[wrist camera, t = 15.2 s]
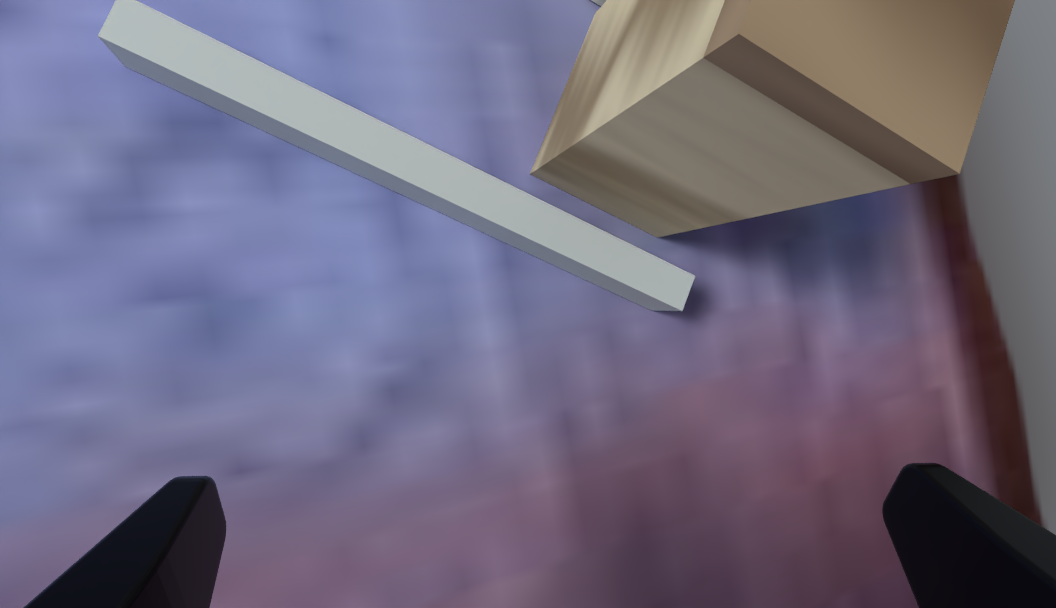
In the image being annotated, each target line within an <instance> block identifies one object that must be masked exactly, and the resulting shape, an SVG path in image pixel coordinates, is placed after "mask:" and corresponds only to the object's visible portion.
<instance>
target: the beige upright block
mask: <svg viewBox="0 0 1056 608" xmlns="http://www.w3.org/2000/svg"><path fill="white" fill-rule="evenodd" d="M1014 1H1015V0H607V1H606V2H605V3H604V4H603V5H602V6H601V8H600V9H599V10H598V11H597V12H596V13H595V15H594V18H593V20H592V23H591V25H590V28H589V30H588V33H587V35H586V37H585V40H584V42H583V45H582V47H581V50H580V52H579V55H578V57H577V60H576V62H575V64H574V67H573V69H572V72H571V74H570V77H569V79H568V82H567V84H566V87H565V89H564V92H563V94H562V96H561V99H560V101H559V104H558V106H557V109H556V111H555V114H554V116H553V119H552V121H551V123H550V126H549V128H548V131H547V133H546V136H545V138H544V141H543V143H542V146H541V148H540V151H539V153H538V155H537V158H536V160H535V163H534V165H533V168H532V170H531V173H530V174H531V175H533V176H535V177H537V178H539V179H541V180H543V181H545V182H547V183H549V184H551V185H553V186H555V187H557V188H559V189H561V190H563V191H565V192H567V193H569V194H571V195H573V196H575V197H577V198H579V199H581V200H583V201H585V202H587V203H589V204H591V205H593V206H595V207H597V208H599V209H601V210H603V211H605V212H607V213H609V214H611V215H613V216H615V217H617V218H619V219H621V220H623V221H625V222H627V223H629V224H631V225H633V226H635V227H637V228H639V229H641V230H643V231H645V232H647V233H649V234H651V235H653V236H655V237H657V238H658V237H663V236H667V235H672V234H677V233H681V232H686V231H691V230H696V229H700V228H705V227H710V226H715V225H719V224H724V223H729V222H734V221H738V220H743V219H748V218H752V217H757V216H762V215H767V214H771V213H776V212H781V211H786V210H790V209H795V208H800V207H805V206H809V205H814V204H819V203H823V202H828V201H833V200H838V199H842V198H847V197H852V196H857V195H861V194H866V193H871V192H876V191H880V190H885V189H890V188H894V187H899V186H904V185H909V184H913V183H918V182H923V181H928V180H932V179H937V178H942V177H947V176H951V175H956V174H960V171H961V168H962V165H963V162H964V159H965V155H966V152H967V149H968V146H969V143H970V140H971V137H972V133H973V130H974V127H975V124H976V121H977V117H978V115H979V111H980V108H981V105H982V102H983V99H984V96H985V93H986V89H987V86H988V83H989V80H990V77H991V74H992V71H993V67H994V64H995V61H996V58H997V55H998V52H999V49H1000V45H1001V42H1002V39H1003V36H1004V33H1005V30H1006V27H1007V23H1008V20H1009V17H1010V14H1011V11H1012V8H1013V4H1014Z"/></svg>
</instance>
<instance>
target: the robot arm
mask: <svg viewBox="0 0 1056 608" xmlns="http://www.w3.org/2000/svg"><path fill="white" fill-rule="evenodd" d="M882 511H883V519H884V522H885V525H886V527H887V530H888V532H889V535H890V537H891V539H892V542H893V544H894V547H895V549H896V552H897V554H898V557H899V559H900V562H901V564H902V567H903V569H904V572H905V574H906V577H907V579H908V581H909V584H910V586H911V589H912V591H913V594H914V596H915V599H916V601H917V604H918V606H919V608H1056V535H1055V534H1053V533H1051V532H1050V531H1048V530H1047V529H1045V528H1043V527H1042V526H1040V525H1038V524H1037V523H1035V522H1034V521H1032V520H1030V519H1029V518H1027V517H1025V516H1024V515H1022V514H1021V513H1019V512H1017V511H1016V510H1014V509H1012V508H1011V507H1009V506H1008V505H1006V504H1004V503H1003V502H1001V501H1000V500H998V499H996V498H995V497H993V496H991V495H990V494H988V493H987V492H985V491H983V490H982V489H980V488H978V487H977V486H975V485H974V484H972V483H970V482H969V481H967V480H965V479H964V478H962V477H961V476H959V475H957V474H956V473H954V472H953V471H951V470H949V469H948V468H946V467H944V466H942V465H940V464H936V463H911V464H907V465H906V466H904V467H903V468H902V470H901V471H900V473H899V475H898V477H897V478H896V480H895V482H894V484H893V486H892V488H891V489H890V491H889V493H888V495H887V497H886V499H885V500H884V503H883V508H882ZM225 537H226V520H225V516H224V512H223V509H222V505H221V502H220V498H219V494H218V491H217V487H216V484H215V482H214V480H213V479H212V478H211V477H208V476H181V477H176V478H174V479H172V480H170V481H169V482H168V483H167V484H165V485H164V486H163V487H162V488H161V489H160V490H158V491H157V492H156V493H155V494H154V495H153V496H152V497H150V498H149V499H148V500H147V501H146V502H145V503H143V504H142V505H141V506H140V507H139V508H138V509H137V510H135V511H134V512H133V513H132V514H131V515H130V516H129V517H127V518H126V519H125V520H124V521H123V522H122V523H120V524H119V525H118V526H117V527H116V528H115V529H114V530H112V531H111V532H110V533H109V534H108V535H107V536H105V537H104V538H103V539H102V540H101V541H100V542H99V543H97V544H96V545H95V546H94V547H93V548H92V549H90V550H89V551H88V552H87V553H86V554H85V555H84V556H82V557H81V558H80V559H79V560H78V561H77V562H76V563H74V564H73V565H72V566H71V567H70V568H69V569H67V570H66V571H65V572H64V573H63V574H62V575H61V576H59V577H58V578H57V579H56V580H55V581H54V582H52V583H51V584H50V585H49V586H48V587H47V588H46V589H44V590H43V591H42V592H41V593H40V594H39V595H37V596H36V597H35V598H34V599H33V600H32V601H31V602H29V603H28V604H27V605H26V606H25V607H24V608H209V607H210V603H211V599H212V594H213V590H214V586H215V581H216V577H217V573H218V568H219V564H220V560H221V555H222V551H223V547H224V542H225Z"/></svg>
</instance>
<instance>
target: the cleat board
mask: <svg viewBox="0 0 1056 608" xmlns="http://www.w3.org/2000/svg"><path fill="white" fill-rule="evenodd" d="M591 1H593V2H594V3H596V4H598V5H599V6H602V5H603V4H604V3H605V2H606V1H607V0H591ZM98 37H99V38H100V39H101V40H102V41H103V42H104V44H105V45H106V46H107V47H108V48H109V49H110V50H111V52H112V53H113V54H114V55H115V56H116V57H117V58H118V60H119V61H120V62H121V63H122V64H123V65H124V66H125V67H127V68H129V69H131V70H133V71H136V72H138V73H140V74H142V75H144V76H146V77H149V78H151V79H153V80H155V81H157V82H159V83H162V84H164V85H166V86H168V87H170V88H172V89H174V90H177V91H179V92H181V93H183V94H185V95H187V96H190V97H192V98H194V99H196V100H198V101H200V102H203V103H205V104H207V105H209V106H211V107H213V108H215V109H218V110H220V111H222V112H224V113H226V114H228V115H231V116H233V117H235V118H237V119H239V120H241V121H244V122H246V123H248V124H250V125H252V126H254V127H256V128H259V129H261V130H263V131H265V132H267V133H269V134H272V135H274V136H276V137H278V138H280V139H282V140H285V141H287V142H289V143H291V144H293V145H295V146H298V147H300V148H302V149H304V150H306V151H308V152H310V153H313V154H315V155H317V156H319V157H321V158H323V159H326V160H328V161H330V162H332V163H334V164H336V165H339V166H341V167H343V168H345V169H347V170H349V171H351V172H354V173H356V174H358V175H360V176H362V177H364V178H367V179H369V180H371V181H373V182H375V183H377V184H380V185H382V186H384V187H386V188H388V189H390V190H392V191H395V192H397V193H399V194H401V195H403V196H405V197H408V198H410V199H412V200H414V201H416V202H418V203H421V204H423V205H425V206H427V207H429V208H431V209H433V210H436V211H438V212H440V213H442V214H444V215H446V216H449V217H451V218H453V219H455V220H457V221H459V222H462V223H464V224H466V225H468V226H470V227H472V228H474V229H477V230H479V231H481V232H483V233H485V234H487V235H490V236H492V237H494V238H496V239H498V240H500V241H503V242H505V243H507V244H509V245H511V246H513V247H515V248H518V249H520V250H522V251H524V252H526V253H528V254H531V255H533V256H535V257H537V258H539V259H541V260H544V261H546V262H548V263H550V264H552V265H554V266H556V267H559V268H561V269H563V270H565V271H567V272H569V273H572V274H574V275H576V276H578V277H580V278H582V279H585V280H587V281H589V282H591V283H593V284H595V285H597V286H600V287H602V288H604V289H606V290H608V291H610V292H613V293H615V294H617V295H619V296H621V297H623V298H626V299H628V300H630V301H632V302H634V303H636V304H638V305H641V306H643V307H645V308H647V309H649V310H651V311H683V308H684V305H685V303H686V300H687V297H688V294H689V292H690V289H691V286H692V284H693V281H694V278H695V276H694V275H692V274H690V273H688V272H686V271H684V270H682V269H680V268H678V267H676V266H674V265H672V264H670V263H668V262H666V261H664V260H662V259H660V258H658V257H656V256H654V255H652V254H650V253H648V252H646V251H643V250H641V249H639V248H637V247H635V246H633V245H631V244H629V243H627V242H625V241H623V240H621V239H619V238H617V237H615V236H613V235H611V234H609V233H607V232H605V231H603V230H601V229H599V228H597V227H595V226H593V225H591V224H589V223H587V222H585V221H583V220H581V219H579V218H576V217H574V216H572V215H570V214H568V213H566V212H564V211H562V210H560V209H558V208H556V207H554V206H552V205H550V204H548V203H546V202H544V201H542V200H540V199H538V198H536V197H534V196H532V195H530V194H528V193H526V192H524V191H522V190H520V189H518V188H516V187H514V186H512V185H510V184H507V183H505V182H503V181H501V180H499V179H497V178H495V177H493V176H491V175H489V174H487V173H485V172H483V171H481V170H479V169H477V168H475V167H473V166H471V165H469V164H467V163H465V162H463V161H461V160H459V159H457V158H455V157H453V156H451V155H449V154H447V153H445V152H443V151H440V150H438V149H436V148H434V147H432V146H430V145H428V144H426V143H424V142H422V141H420V140H418V139H416V138H414V137H412V136H410V135H408V134H406V133H404V132H402V131H400V130H398V129H396V128H394V127H392V126H390V125H388V124H386V123H384V122H382V121H380V120H378V119H376V118H374V117H371V116H369V115H367V114H365V113H363V112H361V111H359V110H357V109H355V108H353V107H351V106H349V105H347V104H345V103H343V102H341V101H339V100H337V99H335V98H333V97H331V96H329V95H327V94H325V93H323V92H321V91H319V90H317V89H315V88H313V87H311V86H309V85H307V84H304V83H302V82H300V81H298V80H296V79H294V78H292V77H290V76H288V75H286V74H284V73H282V72H280V71H278V70H276V69H274V68H272V67H270V66H268V65H266V64H264V63H262V62H260V61H258V60H256V59H254V58H252V57H250V56H248V55H246V54H244V53H242V52H240V51H238V50H235V49H233V48H231V47H229V46H227V45H225V44H223V43H221V42H219V41H217V40H215V39H213V38H211V37H209V36H207V35H205V34H203V33H201V32H199V31H197V30H195V29H193V28H191V27H189V26H187V25H185V24H183V23H181V22H179V21H177V20H175V19H173V18H171V17H168V16H166V15H164V14H162V13H160V12H158V11H156V10H154V9H152V8H150V7H148V6H146V5H144V4H142V3H140V2H138V1H136V0H116V1H115V3H114V5H113V7H112V9H111V11H110V13H109V15H108V17H107V19H106V21H105V23H104V25H103V27H102V29H101V31H100V33H99V35H98Z"/></svg>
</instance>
